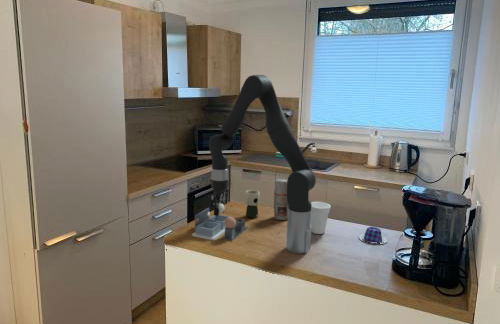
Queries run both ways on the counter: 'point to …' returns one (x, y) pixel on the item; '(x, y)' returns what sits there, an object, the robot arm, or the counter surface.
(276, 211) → the spray can
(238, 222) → the post stand
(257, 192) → the character mug
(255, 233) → the counter surface
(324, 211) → the cup
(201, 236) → the rack
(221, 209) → the cream ball
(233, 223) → the terracotta ball
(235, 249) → the counter surface
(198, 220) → the card
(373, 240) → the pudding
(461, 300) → the counter surface
